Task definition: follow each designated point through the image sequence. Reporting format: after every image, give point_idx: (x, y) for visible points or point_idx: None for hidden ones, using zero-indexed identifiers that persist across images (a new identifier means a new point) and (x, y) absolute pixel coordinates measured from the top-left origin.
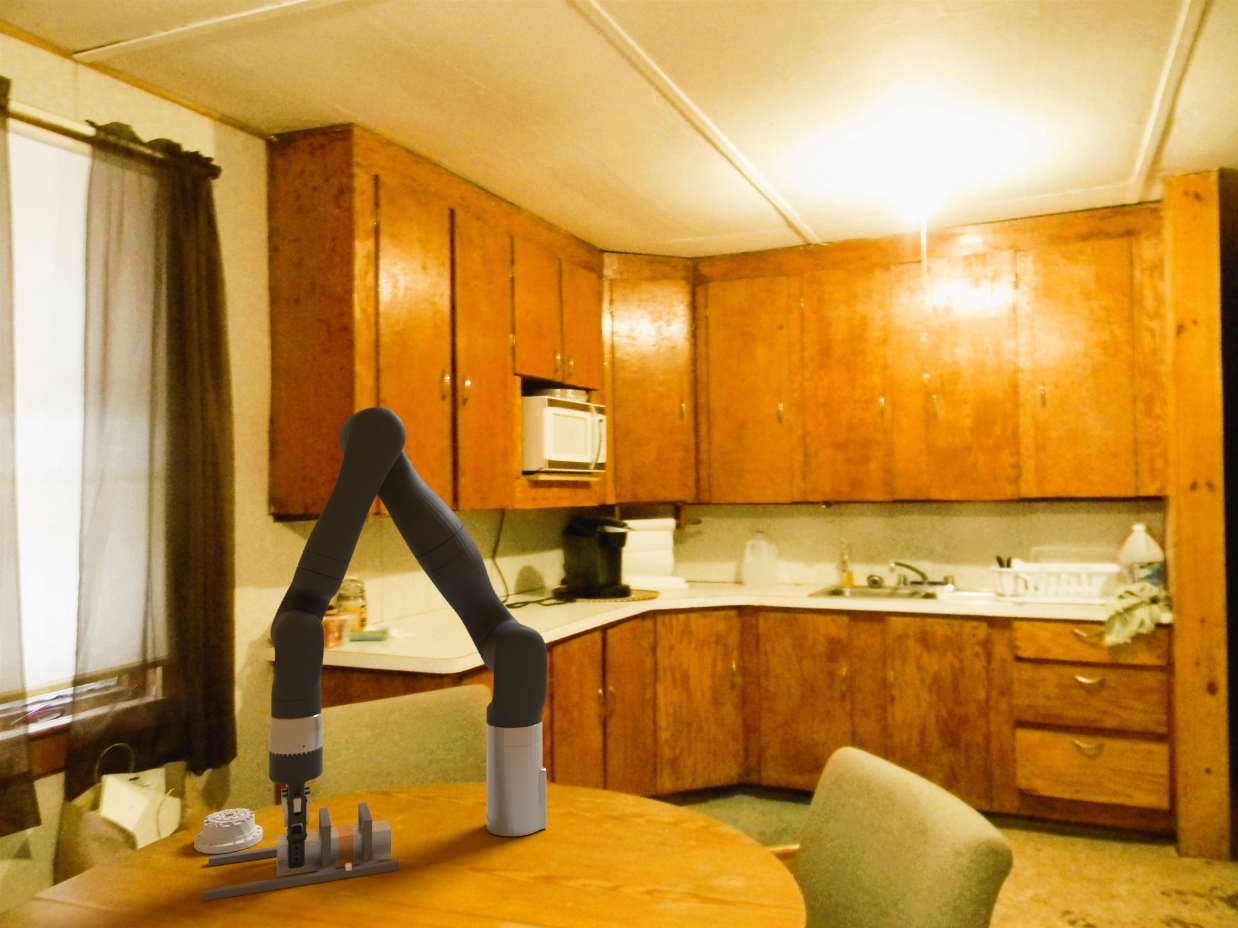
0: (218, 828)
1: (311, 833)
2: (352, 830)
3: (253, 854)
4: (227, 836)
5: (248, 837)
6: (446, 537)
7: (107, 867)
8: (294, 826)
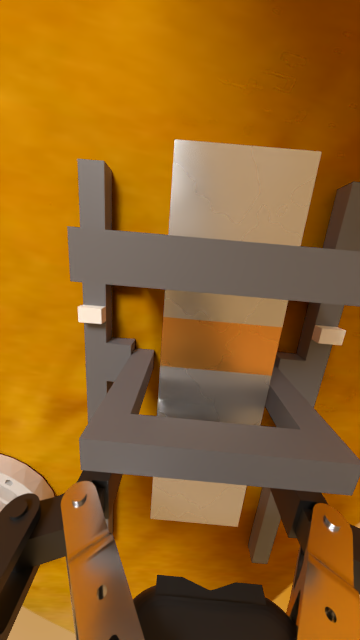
0: None
1: None
2: (233, 321)
3: None
4: None
5: (14, 491)
6: None
7: (58, 621)
8: (114, 484)
